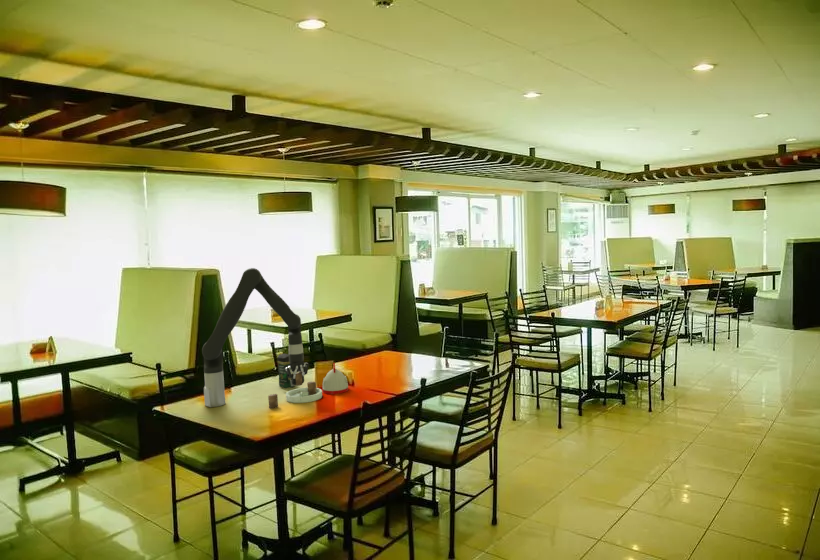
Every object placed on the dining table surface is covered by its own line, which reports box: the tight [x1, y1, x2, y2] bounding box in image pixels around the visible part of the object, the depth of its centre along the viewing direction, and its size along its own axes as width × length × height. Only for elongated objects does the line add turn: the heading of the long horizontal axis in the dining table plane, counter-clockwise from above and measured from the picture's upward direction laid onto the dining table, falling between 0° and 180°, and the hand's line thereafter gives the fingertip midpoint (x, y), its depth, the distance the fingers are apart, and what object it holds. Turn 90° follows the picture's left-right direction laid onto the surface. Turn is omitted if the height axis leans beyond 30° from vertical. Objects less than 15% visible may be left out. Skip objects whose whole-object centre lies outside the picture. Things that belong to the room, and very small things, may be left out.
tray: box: [285, 386, 323, 404], centre depth 296 cm, size 18×18×3 cm
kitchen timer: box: [321, 362, 349, 395], centre depth 308 cm, size 14×14×15 cm
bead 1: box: [294, 371, 303, 387], centre depth 299 cm, size 4×4×6 cm
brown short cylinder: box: [267, 393, 279, 409], centre depth 282 cm, size 4×4×6 cm
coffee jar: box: [277, 353, 295, 389], centre depth 321 cm, size 10×8×19 cm
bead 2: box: [307, 381, 317, 395], centre depth 299 cm, size 4×4×6 cm
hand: (298, 383), depth 299 cm, fingers closed on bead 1, 4 cm apart
